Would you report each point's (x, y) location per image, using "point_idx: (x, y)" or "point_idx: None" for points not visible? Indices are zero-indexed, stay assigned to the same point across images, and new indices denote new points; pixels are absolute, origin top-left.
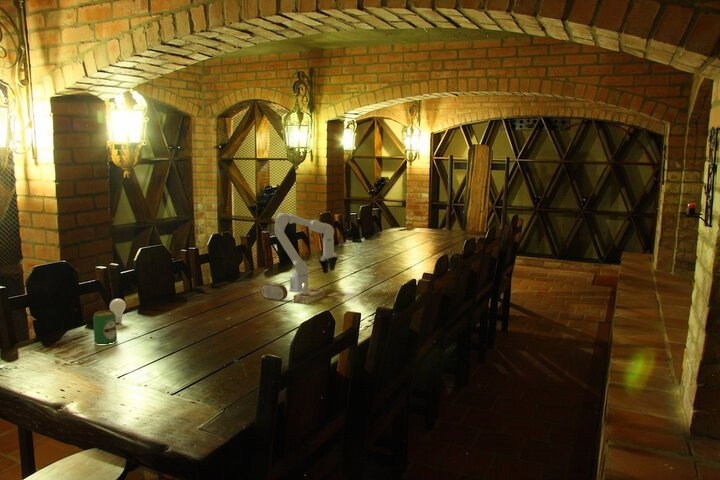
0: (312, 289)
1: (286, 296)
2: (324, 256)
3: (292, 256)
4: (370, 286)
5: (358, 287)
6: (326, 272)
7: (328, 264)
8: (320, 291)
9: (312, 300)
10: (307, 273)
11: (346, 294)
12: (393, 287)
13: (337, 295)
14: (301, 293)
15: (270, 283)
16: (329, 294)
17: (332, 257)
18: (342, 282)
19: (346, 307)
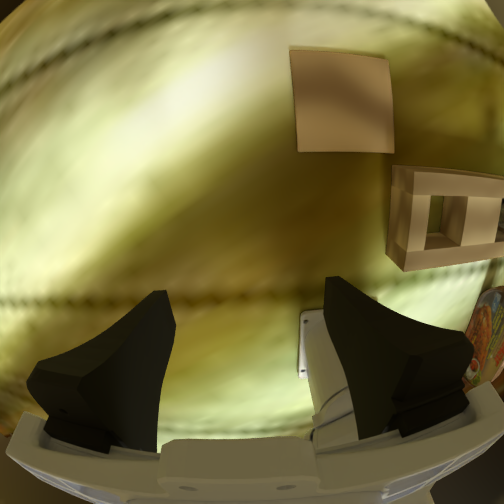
0: (429, 249)
1: (494, 288)
2: (439, 474)
3: (432, 500)
4: (32, 83)
5: (75, 112)
6: (344, 281)
7: (379, 330)
8: (454, 178)
9: (493, 175)
10: (347, 395)
11: (300, 51)
12: (16, 9)
13: (356, 93)
14: (497, 246)
15: (500, 368)
16: (363, 151)
17: (115, 441)
18: (56, 261)
19: (468, 9)
